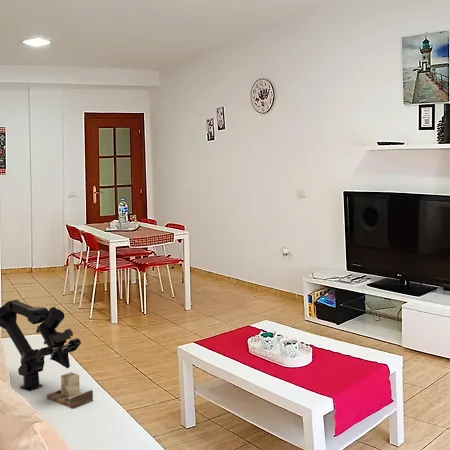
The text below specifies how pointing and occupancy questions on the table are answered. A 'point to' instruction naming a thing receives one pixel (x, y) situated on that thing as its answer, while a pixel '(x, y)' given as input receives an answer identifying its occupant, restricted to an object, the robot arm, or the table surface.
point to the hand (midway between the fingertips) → (68, 367)
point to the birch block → (70, 384)
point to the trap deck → (71, 398)
